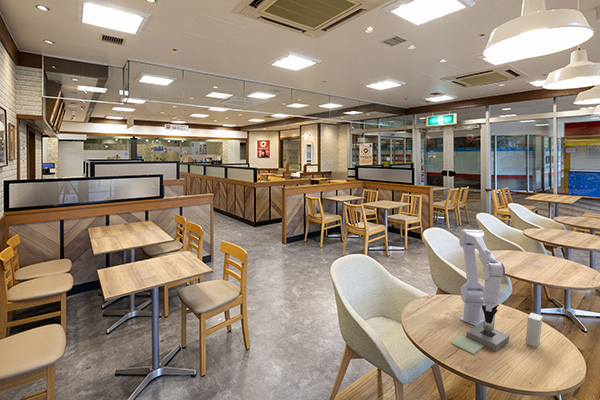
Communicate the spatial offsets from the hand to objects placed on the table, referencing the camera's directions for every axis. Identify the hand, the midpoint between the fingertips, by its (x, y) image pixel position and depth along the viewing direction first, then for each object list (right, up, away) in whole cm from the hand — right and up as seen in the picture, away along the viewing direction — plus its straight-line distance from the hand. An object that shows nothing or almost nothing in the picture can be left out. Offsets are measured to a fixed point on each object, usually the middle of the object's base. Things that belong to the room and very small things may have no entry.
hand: (489, 320), depth 134 cm
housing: (0, -9, +1) cm, 9 cm away
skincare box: (+18, -9, -1) cm, 20 cm away
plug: (0, -4, 0) cm, 4 cm away
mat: (-11, -9, -3) cm, 14 cm away
